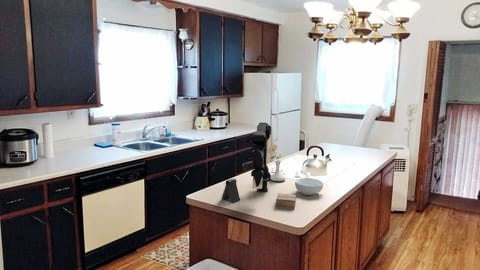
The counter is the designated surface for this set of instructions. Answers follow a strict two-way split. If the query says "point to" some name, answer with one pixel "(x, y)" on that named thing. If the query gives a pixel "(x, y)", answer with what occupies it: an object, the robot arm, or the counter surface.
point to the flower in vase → (277, 174)
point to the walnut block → (286, 201)
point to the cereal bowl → (308, 186)
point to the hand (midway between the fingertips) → (257, 185)
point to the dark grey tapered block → (231, 191)
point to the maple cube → (255, 184)
